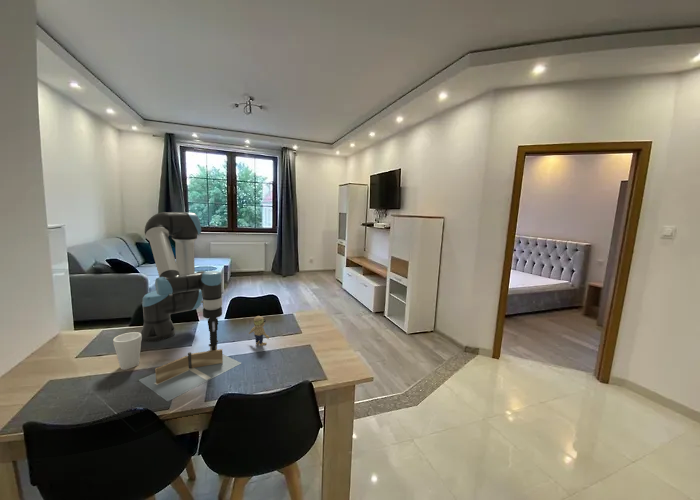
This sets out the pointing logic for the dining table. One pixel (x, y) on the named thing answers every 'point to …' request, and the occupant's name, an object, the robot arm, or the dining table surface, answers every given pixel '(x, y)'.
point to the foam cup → (128, 349)
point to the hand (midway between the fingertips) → (213, 357)
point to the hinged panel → (205, 358)
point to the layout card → (187, 379)
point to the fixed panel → (171, 369)
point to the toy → (259, 330)
